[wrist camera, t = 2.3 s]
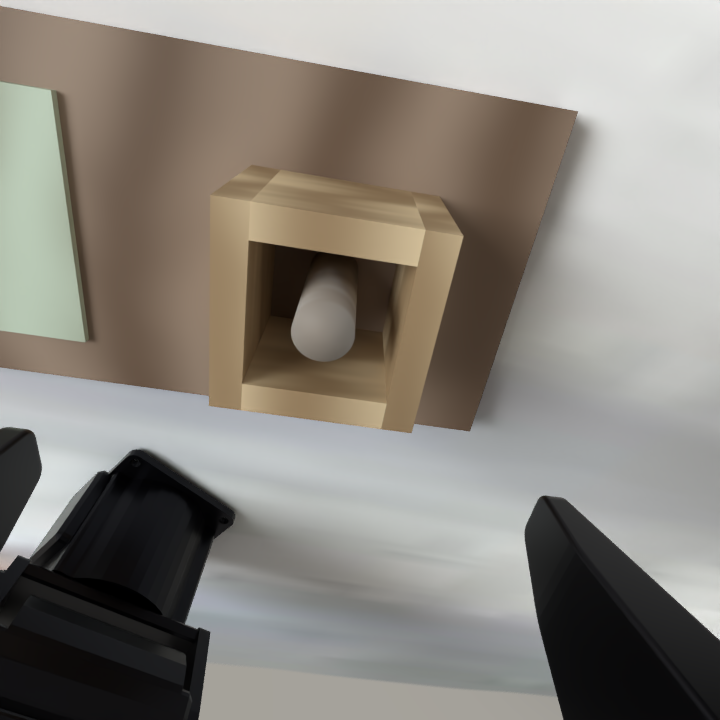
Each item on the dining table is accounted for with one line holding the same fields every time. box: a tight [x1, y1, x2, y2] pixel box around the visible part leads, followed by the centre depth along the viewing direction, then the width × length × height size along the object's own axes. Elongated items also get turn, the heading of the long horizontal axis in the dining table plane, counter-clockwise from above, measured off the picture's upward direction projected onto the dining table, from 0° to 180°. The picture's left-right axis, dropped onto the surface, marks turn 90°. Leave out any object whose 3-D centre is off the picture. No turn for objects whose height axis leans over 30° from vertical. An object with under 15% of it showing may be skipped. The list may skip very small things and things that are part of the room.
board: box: [0, 6, 578, 431], centre depth 16 cm, size 28×13×6 cm, turn 81°
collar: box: [209, 165, 463, 433], centre depth 16 cm, size 6×6×5 cm
